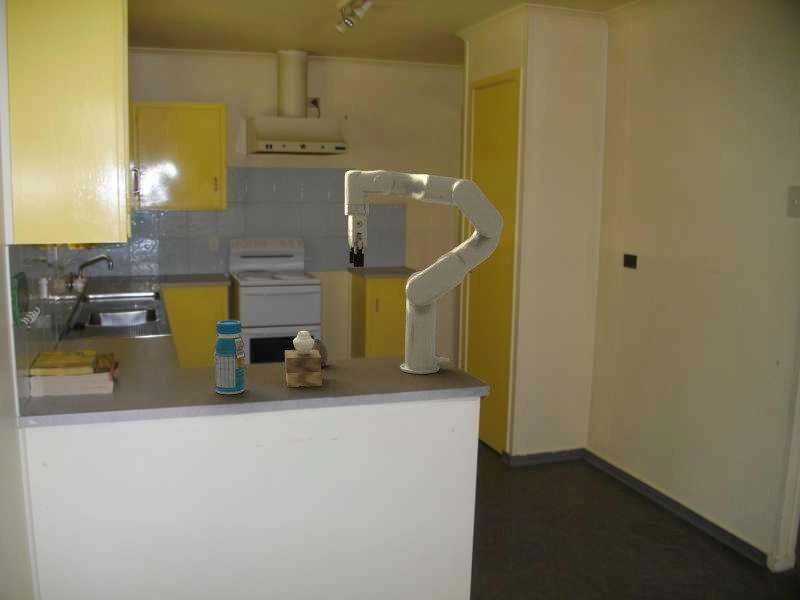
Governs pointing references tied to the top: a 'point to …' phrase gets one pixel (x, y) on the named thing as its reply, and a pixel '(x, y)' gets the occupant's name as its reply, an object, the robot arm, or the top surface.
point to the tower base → (304, 379)
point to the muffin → (303, 342)
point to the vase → (321, 350)
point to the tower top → (302, 362)
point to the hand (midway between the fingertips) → (356, 265)
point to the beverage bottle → (229, 358)
